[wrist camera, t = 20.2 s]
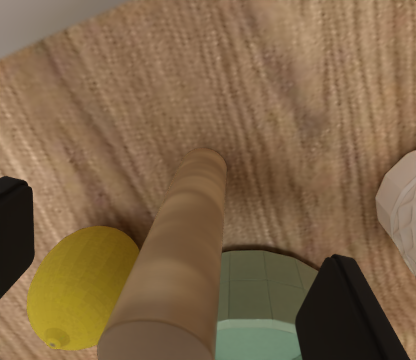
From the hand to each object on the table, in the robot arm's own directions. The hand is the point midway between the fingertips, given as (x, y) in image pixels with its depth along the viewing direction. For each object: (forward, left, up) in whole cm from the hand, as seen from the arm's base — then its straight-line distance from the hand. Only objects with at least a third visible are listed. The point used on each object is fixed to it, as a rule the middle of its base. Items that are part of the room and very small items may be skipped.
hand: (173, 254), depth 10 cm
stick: (0, -1, -9) cm, 9 cm away
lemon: (-4, -7, -9) cm, 12 cm away
